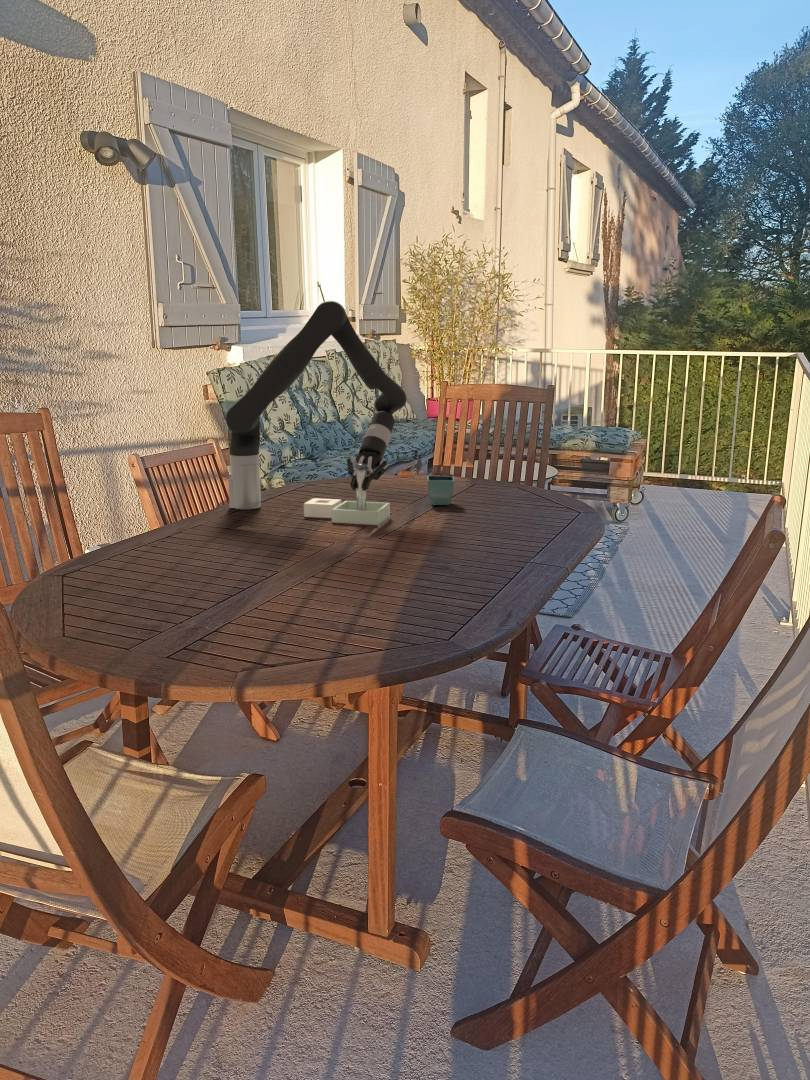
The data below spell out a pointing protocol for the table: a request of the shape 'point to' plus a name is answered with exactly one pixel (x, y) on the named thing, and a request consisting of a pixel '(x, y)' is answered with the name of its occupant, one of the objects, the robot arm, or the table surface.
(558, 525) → the table surface
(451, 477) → the flower pot
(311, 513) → the socket block
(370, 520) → the tray
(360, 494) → the steel pin
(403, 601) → the table surface
